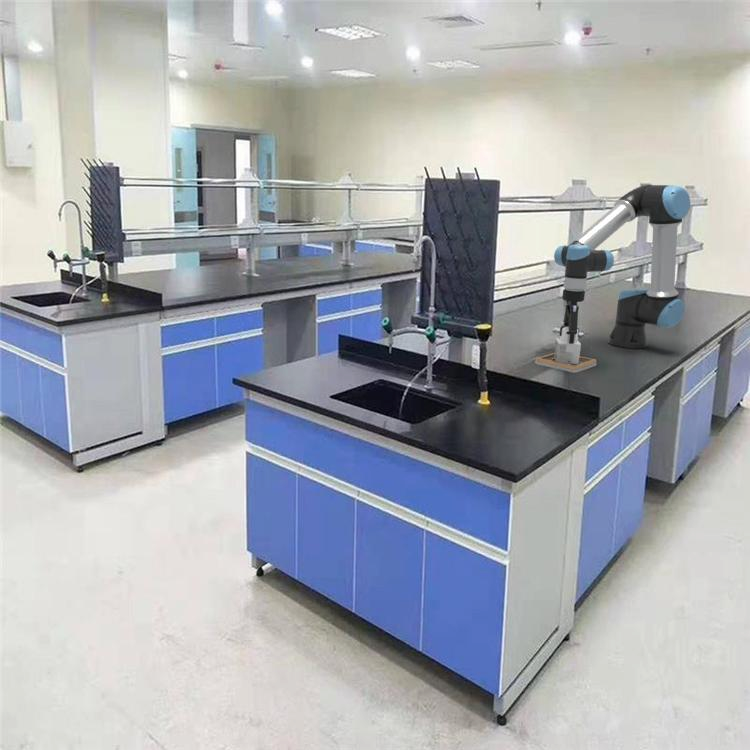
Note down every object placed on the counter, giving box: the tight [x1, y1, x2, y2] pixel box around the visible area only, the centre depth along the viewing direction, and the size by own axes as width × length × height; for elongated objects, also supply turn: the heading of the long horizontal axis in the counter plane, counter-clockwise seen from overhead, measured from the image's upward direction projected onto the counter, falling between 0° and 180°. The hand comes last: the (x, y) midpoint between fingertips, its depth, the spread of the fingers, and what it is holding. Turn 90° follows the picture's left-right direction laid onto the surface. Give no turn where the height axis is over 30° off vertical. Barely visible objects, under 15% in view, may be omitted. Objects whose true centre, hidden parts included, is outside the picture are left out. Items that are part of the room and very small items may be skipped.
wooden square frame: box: [534, 352, 597, 374], centre depth 255 cm, size 16×16×2 cm
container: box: [553, 325, 582, 364], centre depth 253 cm, size 8×8×13 cm
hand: (567, 347), depth 253 cm, fingers open, 13 cm apart
